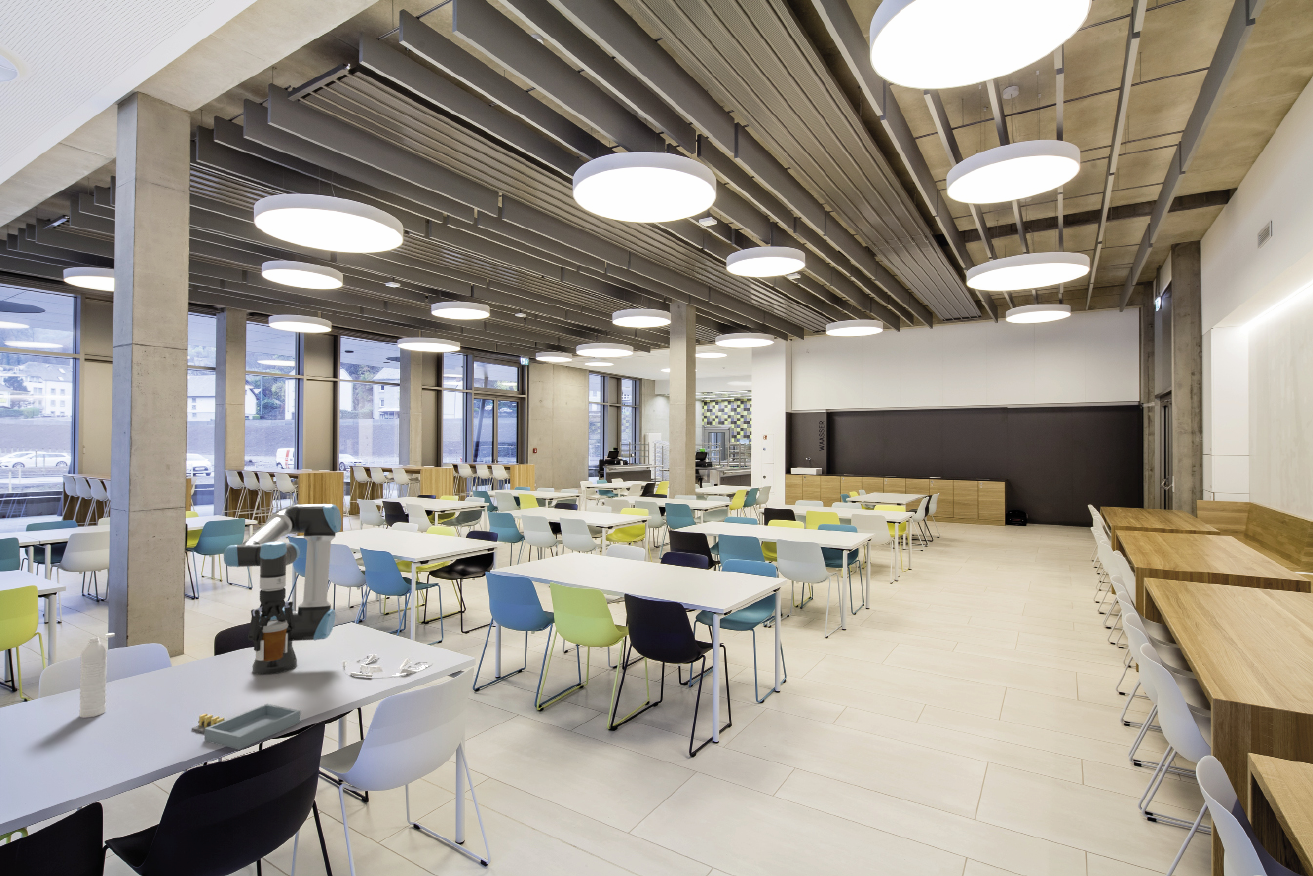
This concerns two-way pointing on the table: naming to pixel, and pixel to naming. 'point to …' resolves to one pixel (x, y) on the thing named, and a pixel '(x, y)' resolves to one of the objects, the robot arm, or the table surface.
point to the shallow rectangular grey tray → (252, 726)
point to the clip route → (206, 722)
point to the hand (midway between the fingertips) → (271, 655)
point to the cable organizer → (378, 668)
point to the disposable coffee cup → (274, 639)
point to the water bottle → (93, 678)
